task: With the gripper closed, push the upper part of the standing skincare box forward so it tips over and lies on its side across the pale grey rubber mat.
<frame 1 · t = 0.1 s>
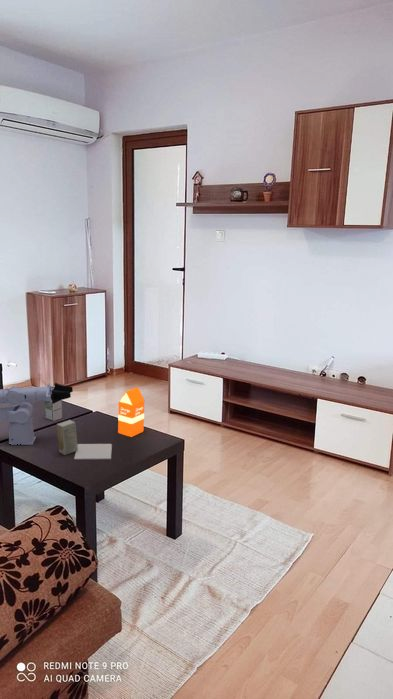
hand: (71, 392, 209), 22 cm above the table, tool horizontal, fingers open, 7 cm apart
mat: (93, 451, 204), on the table
skincare box: (68, 452, 203), on the table, touching mat
orange juice: (130, 432, 227), on the table
syrup box: (53, 418, 238), on the table
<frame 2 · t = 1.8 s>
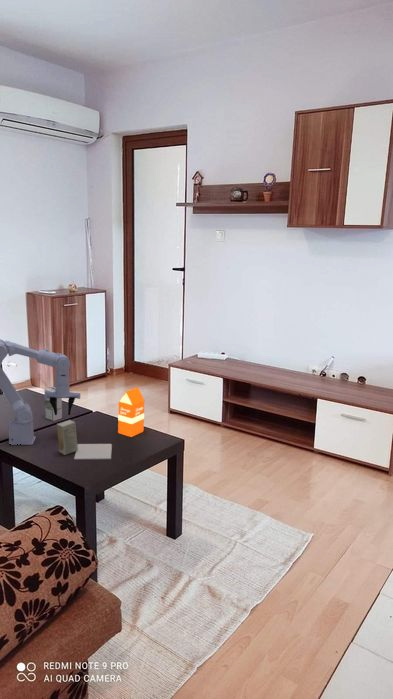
hand: (62, 414, 214), 10 cm above the table, tool pointing down, fingers open, 5 cm apart
nothing on the table moved.
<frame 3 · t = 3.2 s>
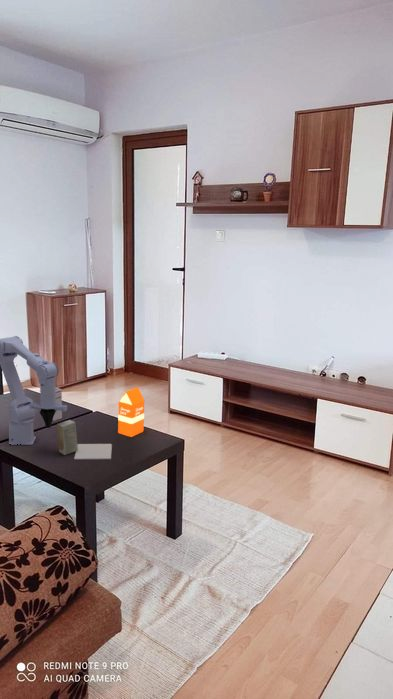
hand: (48, 426, 200), 10 cm above the table, tool pointing down, fingers closed
nothing on the table moved.
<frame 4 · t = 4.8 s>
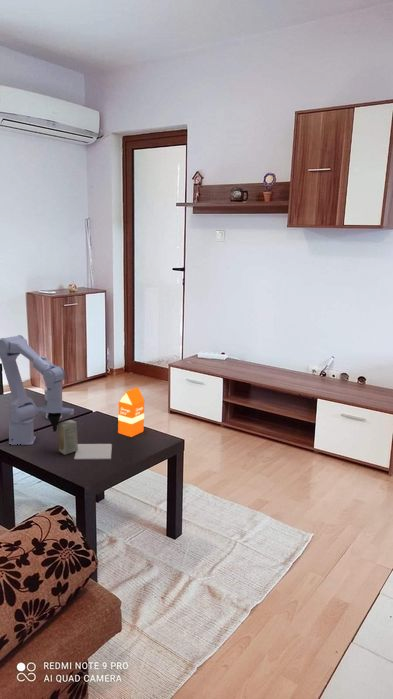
hand: (55, 430, 200), 9 cm above the table, tool pointing down, fingers closed
skincare box: (68, 451, 203), on the table, touching gripper, mat
everything else where it was.
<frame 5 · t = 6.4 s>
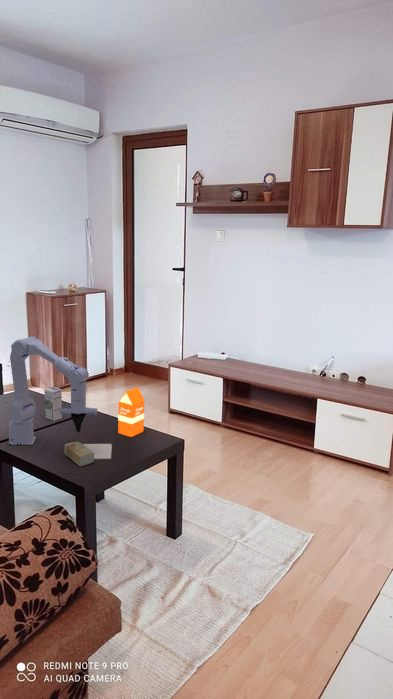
hand: (78, 431, 201), 9 cm above the table, tool pointing down, fingers closed
skincare box: (70, 447, 201), point 3 cm above the table, touching mat
everything else where it was.
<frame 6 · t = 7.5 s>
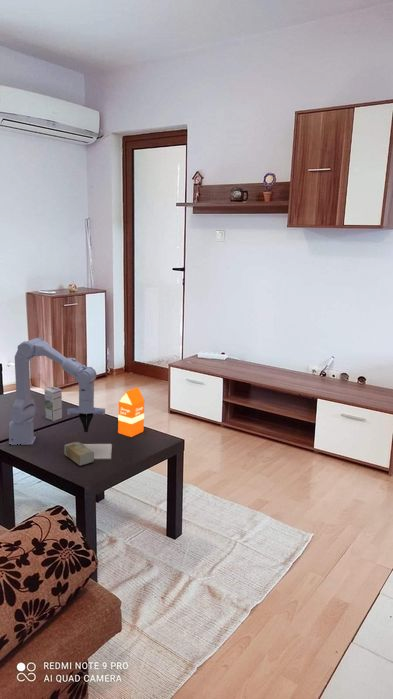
hand: (86, 431, 202), 9 cm above the table, tool pointing down, fingers closed
nothing on the table moved.
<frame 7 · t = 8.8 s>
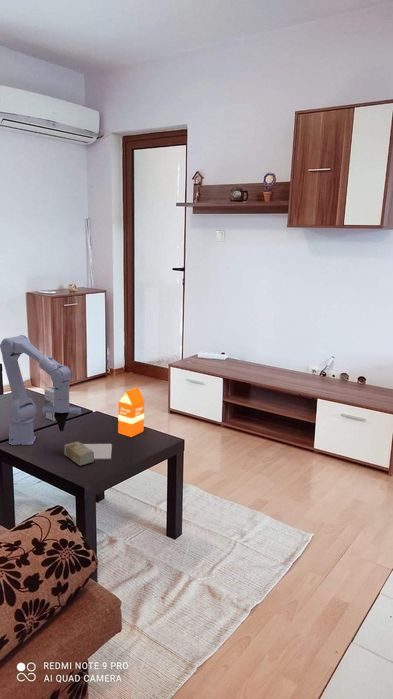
hand: (61, 430, 200), 9 cm above the table, tool pointing down, fingers closed
nothing on the table moved.
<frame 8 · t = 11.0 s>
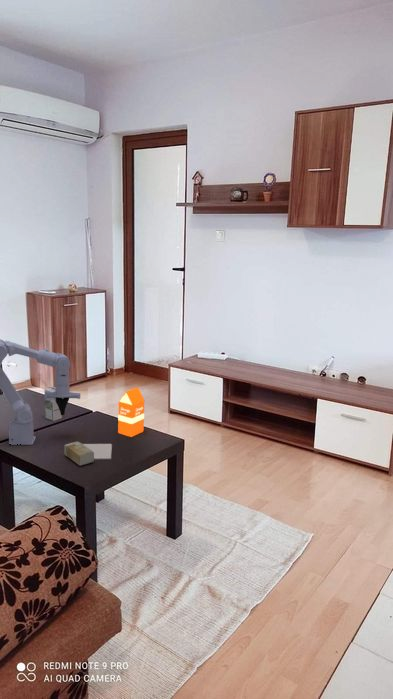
hand: (62, 414, 214), 10 cm above the table, tool pointing down, fingers closed
nothing on the table moved.
at the end: skincare box tilted 90°; skincare box touching mat; skincare box inside the target area (2.5 cm from its centre), point 2.6 cm above the table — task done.
